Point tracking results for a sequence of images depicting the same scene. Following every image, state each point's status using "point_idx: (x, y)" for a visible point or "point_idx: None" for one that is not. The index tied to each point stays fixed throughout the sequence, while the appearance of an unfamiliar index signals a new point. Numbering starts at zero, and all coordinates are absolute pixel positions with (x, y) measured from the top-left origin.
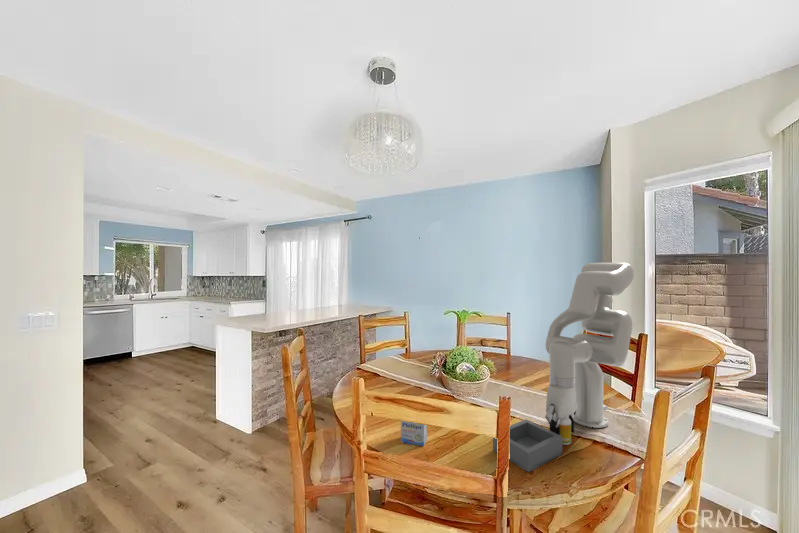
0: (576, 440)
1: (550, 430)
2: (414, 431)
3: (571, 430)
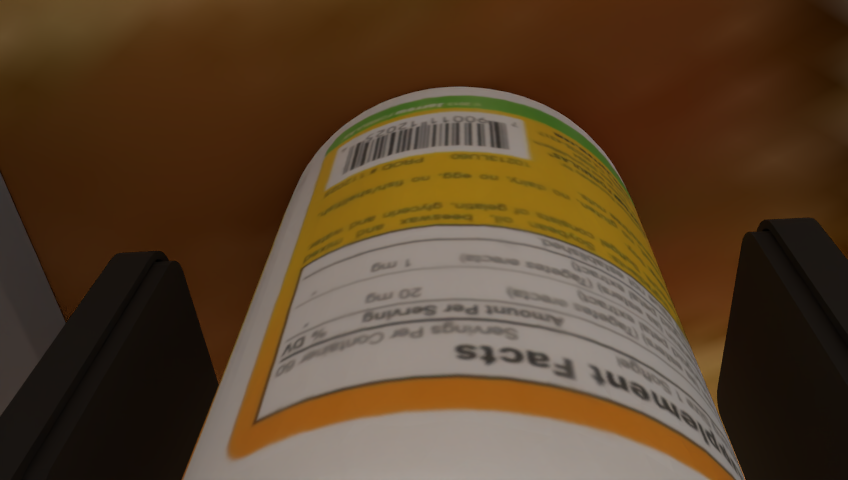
0: (705, 345)
1: (71, 345)
2: None
3: (730, 415)
